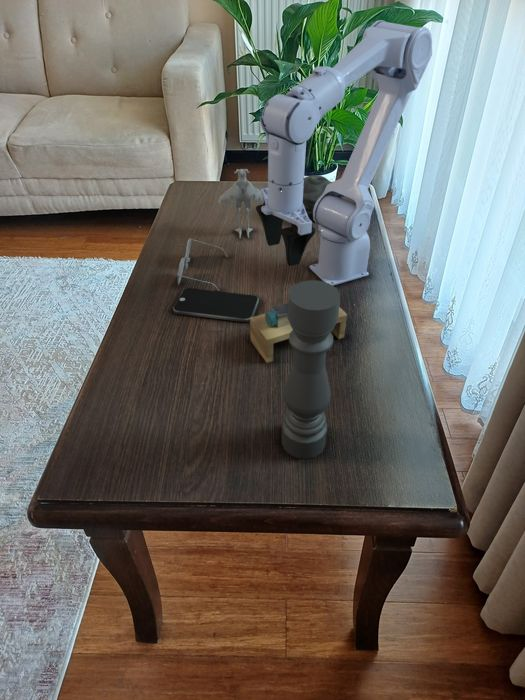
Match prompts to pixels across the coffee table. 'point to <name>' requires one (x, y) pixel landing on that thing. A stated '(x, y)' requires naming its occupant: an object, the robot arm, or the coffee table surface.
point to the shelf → (282, 333)
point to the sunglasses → (189, 261)
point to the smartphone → (216, 305)
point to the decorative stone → (313, 192)
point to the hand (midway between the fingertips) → (283, 253)
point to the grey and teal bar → (277, 316)
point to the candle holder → (309, 367)
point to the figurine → (241, 196)
